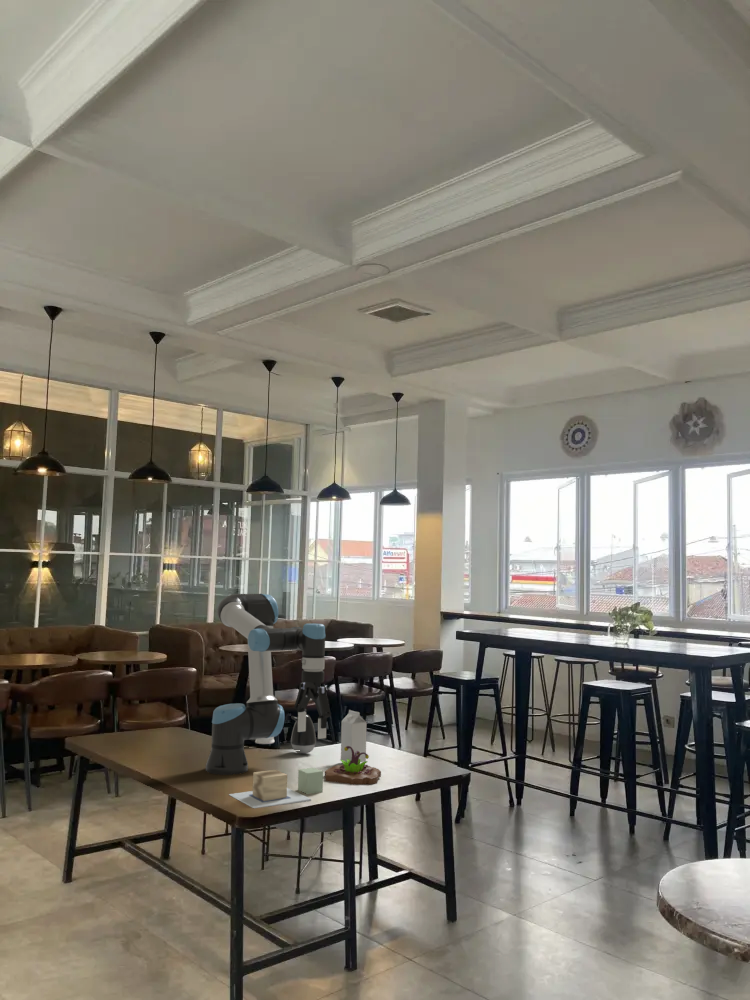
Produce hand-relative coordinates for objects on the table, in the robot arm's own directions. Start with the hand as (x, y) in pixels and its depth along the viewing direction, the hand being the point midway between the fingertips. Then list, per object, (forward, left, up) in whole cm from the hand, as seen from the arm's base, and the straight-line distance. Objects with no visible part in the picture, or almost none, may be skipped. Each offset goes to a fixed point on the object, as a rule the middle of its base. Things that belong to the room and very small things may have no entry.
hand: (311, 735), depth 269 cm
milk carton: (-31, +37, -19) cm, 52 cm away
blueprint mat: (+2, -16, -18) cm, 24 cm away
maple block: (+2, -16, -17) cm, 24 cm away
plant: (-10, +23, -19) cm, 32 cm away
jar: (-80, +23, -19) cm, 85 cm away
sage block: (0, 0, -19) cm, 19 cm away
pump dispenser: (-55, +28, -19) cm, 65 cm away
